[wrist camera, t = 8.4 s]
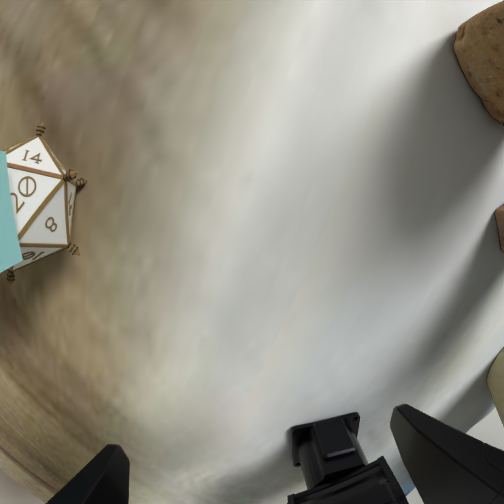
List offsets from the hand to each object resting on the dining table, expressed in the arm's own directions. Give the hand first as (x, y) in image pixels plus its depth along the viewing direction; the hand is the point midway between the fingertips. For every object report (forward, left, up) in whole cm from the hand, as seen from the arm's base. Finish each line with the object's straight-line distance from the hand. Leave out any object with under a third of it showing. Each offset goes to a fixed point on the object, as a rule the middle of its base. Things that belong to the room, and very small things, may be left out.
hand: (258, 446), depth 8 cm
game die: (+8, +12, -13) cm, 20 cm away
